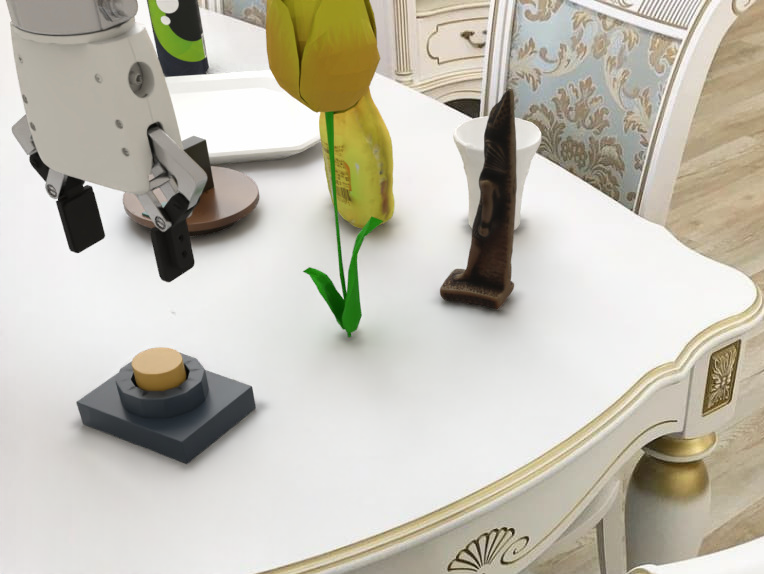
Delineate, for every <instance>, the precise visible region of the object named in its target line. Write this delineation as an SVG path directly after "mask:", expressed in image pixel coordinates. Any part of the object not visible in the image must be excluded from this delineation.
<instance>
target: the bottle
mask: <svg viewBox="0 0 764 574" xmlns="http://www.w3.org/2000/svg"><path fill="white" fill-rule="evenodd" d="M319 131H320V139H321V142H320V144H321V151H322V157H323V163H324V171H325V172H324V173H325V177H326V183H327V187H328V188H327V189H328V192H329V196H330V200H331V203H332V205H333V206H334V200H333V189H332V178H331V167H330V157H329V148H328V138H327V128H326V119H325V112H320V117H319ZM393 152H394V149H393V142H392V137H391V135H390V132H389V129H388V126H387V124H386V122H385V120H384V119H383V116H382V114H381V113H380V110H379V108H378V107H377V105H376V104H375V102H374V99H373V97H372V94H371V89H370V87H369V88H368V90H367V91H366V93H365V95H364V96H363V97H361V99H360V100H359V102H358V103H357V105H356V107H354V108H352V109H350V110H348V111H346V112H345V113H340V114H334V158H335V177H336V196H337V210H338V214H339V215H340V216H341V217H342V219H343V220H345V222H348V223H349V224H350V225H351V226H353V227H355V228H357V229H358V228H359V229H361V230H362V229H363V227H364V226H365V225H366V224H367V222H368V221H369V219H370V218H371V217H374V218H377V219H380V220H382V221H383V222H382V223H381V224H380V225H378V226H377V227H379V226H381V225H384V224H385V223H387V222H389V221H390V220H391V219H392V218H393V216H394V213H395V195H394V190H393V188H394V186H393V185H394V154H393Z"/></svg>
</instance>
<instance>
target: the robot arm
mask: <svg viewBox="0 0 764 574" xmlns="http://www.w3.org/2000/svg"><path fill="white" fill-rule="evenodd" d="M5 3H6V6H7V10H8V14H9V17H10V20H11V21H10V22H9V26H10V27H9V28H10V36H11V46H12V52H13V60H14V64H15V65H14V66H15V71H16V77H17V81H18V86H19V91H20V96H21V100H22V105H23V108H24V112H25V114H24V115H23V116H22V117H21V118H19V120H17V122H15V123H14V124H13V125H12V126H11V132H12V133H11V134H12V135H13V137H14V138H15V140H16V141H17V142H18V144H19V145H20V147H21V148H22V150H23V151H24V152H25V154H26V155H27V156H29V157H28V160H29V163H30V164H31V167H32V168H33V169H34V170H35V172H37V174H38V175H39V176H40V177H41V179H42V180H43V181H44V182H45V185H44V187H45V188H44V189H45V191H46V193H47V195H48V196H49V197H50V198H52V199H53V200H56V201H55V203H56V207H57V211H58V214H59V215H58V216H59V218H60V222H61V225H62V229H63V232H64V235H65V239H66V242H67V246H68V249H69V251H70V252H73V253H75V254H80V253H82V252H83V251H85V250H87V249H89V248H90V247H92V246H94V245H95V244H97V243H99V242H100V241H102V240H104V239H105V237H106V233H105V229H104V226H103V225H104V224H103V222H102V218H101V214H100V209H99V206H98V202H97V198H96V195H95V192H94V189H93V186H92V185H89V184H86V185H85V183H86V182H88V183H92V184H94V185H99V186H102V187H104V188H105V187H106V188H108V189H112V190H116V191H119V192H123V193H125V192H126V193H130V194H135V195H136V197H137V198H138V200H139V202H140V203H141V205H142V206H143V208H144V209H145V211H146V212H147V214H148V215H149V217H150V218H151V220H152V221H153V223H154V224H155V227H154V228H149V236H150V241H151V245H152V249H153V255H154V258H155V263H156V267H157V271H158V276H159V278H160V280H161V281H163V282H166V283H172V282H173V281H174V280H176V279H178V278H179V277H180V276H182V275H184V274H186V273H187V272H188V271H190V270H192V269H193V268H194V266H195V262H196V261H195V256H194V252H193V246H192V242H191V236H189V231H188V226H187V221H186V218H188V217H190V216H191V215H192V211H193V209H194V208H195V207H196V206H197V205H198V203H199V202H200V195H201V194H202V191H203V189H204V187H205V184H206V182H207V174H206V172H205V171H204V170H203V169H202V168H201V167H200V166H199V165H198V164H197V163H196V162H195V161H194V160H193V159H192V158H191V157H190V156H189V155H188V154H187V153H186V152H185V151H184V150H183V145H182V141H181V137H180V132H179V128H178V124H177V120H176V116H175V112H174V108H173V105H172V101H171V97H170V94H169V90H168V87H167V84H166V80H165V77H166V76H165V75H164V74H163V71H162V68H161V65H160V62H159V59H158V55H157V50H156V48H155V46H154V44H153V42H152V39H151V37H150V34H149V32H148V30H147V28H146V25H145V24H143V23H140V22H137V21H136V16H137V13H138V11H139V3H138V0H5ZM150 174H153V175H154V177H155V178H153V179H152V180H150V181H149V177H148V175H150ZM171 175H173V176H174V177H175V178H176V180H177V183H178V185H177V184H176V182H175V181H174V179H173V177H172V176H171ZM157 188H160V189H161V191H162V192H163V194H164V195H165V197H166V199H167V200H168V202H167V204H166V205H165V206H164V208H163V207H162V205H161V203H160V202H159V200H158V199H157V197H156V196H155V194H154V193H153V190H155V189H157Z"/></svg>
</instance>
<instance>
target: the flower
mask: <svg viewBox="0 0 764 574" xmlns="http://www.w3.org/2000/svg"><path fill="white" fill-rule="evenodd" d="M265 13H266V15H265V45H266V55H267V62H268V67H269V70H271V72H272V74H273V76H274V77H275V79H276V81H277V83H278V84H279V86H280V87H281V88H282V89H284V90H285V91H286V92H287V93H288V94H290V95H291V96H292V97H293V98H295V99H296V100H298V101H299V102H301V103H302V104H304V105H305V106H306V107H308V108H309V109H311V110H312V111H314V112H316V113H318V112H325V119H326V128H327V138H328V148H329V157H330V167H331V178H332V189H333V200H334V205H333V211H334V220H335V221H334V222H335V235H336V249H337V259H338V260H337V261H338V272H339V280H340V285H341V291H342V292H341V293H342V295H341V293H339V291H338V290H337V288H336V286H335V284H334V283H333V281H332V280H331V278H330V277H329V275H328V274H326V273H325V272H323V271H321V270H320V269H317V268H314V267H308V268H306V269H304V270H303V271H302V273H305V274H307V275H309V277H310V279H311V280H312V282H313V284H314V285H315V287H316V289H317V291H318V293H319V294H320V295H321V297H322V298H323V300H324V301H325V303H326V305H327V306H328V308H329V309H330V311H331V313H332V314H333V316H334V319H335V321H336V323H337V324H338V325H339V326H340V328H341V329H342V330H344V331H345V332H346V334H347V338H352V333H353V332H356V331H357V329H358V328H359V325H360V322H361V320H362V317H363V314H362V305H361V297H360V295H361V294H360V282H359V271H358V255H359V252H360V250H361V248H362V244H363V242H364V239H365V237H367V236H368V235H369V234H370V233H372V232H373V231H374V230H375V229H377V227H379V226H381V225H382V224H381V223H382V222H383V221H382V220H380V219H377V218H374V217H371V218H370V219H369V221H368V222H367V224H366V225H365V226H364V227H363V229H362V228H361V229H360V231H359V232H358V233H357V235H356V237H355V241H354V244H353V249H352V254H351V258H350V262H349V265H348V266H349V267H348V270H347V284H346V279H345V278H346V277H345V270H344V264H343V254H342V244H341V243H342V241H341V232H340V223H339V222H340V221H339V212H338V210H337V196H336V177H335V158H334V114H340V113H345V112H346V111H348V110H350V109H352V108H354V107H356V105H357V103H358V102H359V100H360V99H361V97H363V96H364V95H365V93H366V91H367V90H368V88H370V86H371V84H372V81H373V79H374V77H375V74H376V71H377V68H378V66H379V64H380V61H381V55H380V52H379V49H378V35H377V33H378V31H377V25H376V18H375V12H374V10H373V6H372V3H371V1H370V0H266V12H265ZM380 224H381V225H380ZM378 225H379V226H378Z"/></svg>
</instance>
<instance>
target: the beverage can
mask: <svg viewBox="0 0 764 574" xmlns="http://www.w3.org/2000/svg"><path fill="white" fill-rule="evenodd" d="M146 4H147V9H148V15H149V19H150V25H151V29H152V35H153V40H154V45H155V51H156V54H157V57H158V59H159V62H160V65H161V68H162V71H163V74H164V77H174V76H189V75H204V74H207V72H208V71H209V69H210V65H209V59H208V52H207V47H206V42H205V41H206V40H205V35H204V28H203V24H202V17H201V10H200V6H199V5H200V4H199V0H146Z"/></svg>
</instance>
